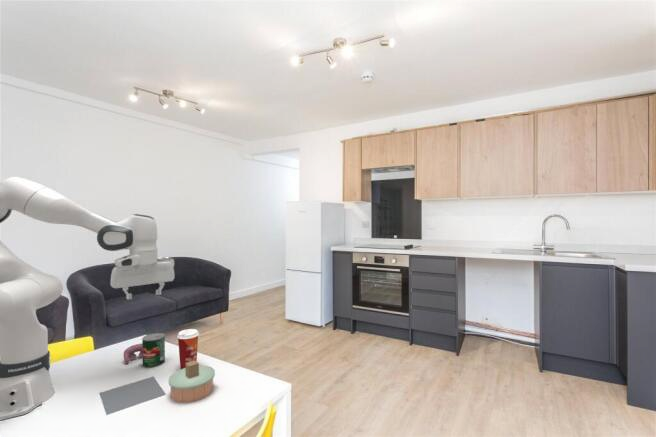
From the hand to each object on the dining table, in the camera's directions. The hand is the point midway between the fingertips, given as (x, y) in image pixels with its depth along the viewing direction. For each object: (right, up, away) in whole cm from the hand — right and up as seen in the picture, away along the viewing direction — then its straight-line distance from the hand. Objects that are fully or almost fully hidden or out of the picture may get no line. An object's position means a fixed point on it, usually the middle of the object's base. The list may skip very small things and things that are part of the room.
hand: (144, 296), depth 117 cm
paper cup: (+13, -29, +6) cm, 33 cm away
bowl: (+22, -29, -11) cm, 38 cm away
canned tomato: (-2, -29, +10) cm, 31 cm away
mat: (+3, -29, -12) cm, 32 cm away
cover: (+22, -24, -11) cm, 34 cm away
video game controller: (-11, -30, +15) cm, 35 cm away
